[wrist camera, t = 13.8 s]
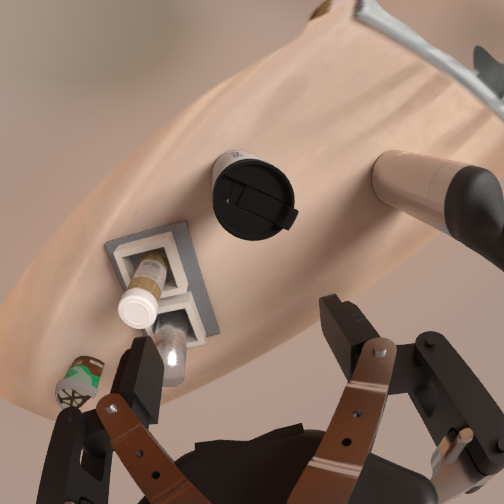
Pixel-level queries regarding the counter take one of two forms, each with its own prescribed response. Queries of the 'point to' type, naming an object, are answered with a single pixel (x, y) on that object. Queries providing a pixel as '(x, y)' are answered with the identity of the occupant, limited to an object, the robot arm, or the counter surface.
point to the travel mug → (251, 196)
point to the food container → (79, 382)
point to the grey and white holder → (169, 276)
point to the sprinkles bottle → (144, 291)
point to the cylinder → (172, 345)
